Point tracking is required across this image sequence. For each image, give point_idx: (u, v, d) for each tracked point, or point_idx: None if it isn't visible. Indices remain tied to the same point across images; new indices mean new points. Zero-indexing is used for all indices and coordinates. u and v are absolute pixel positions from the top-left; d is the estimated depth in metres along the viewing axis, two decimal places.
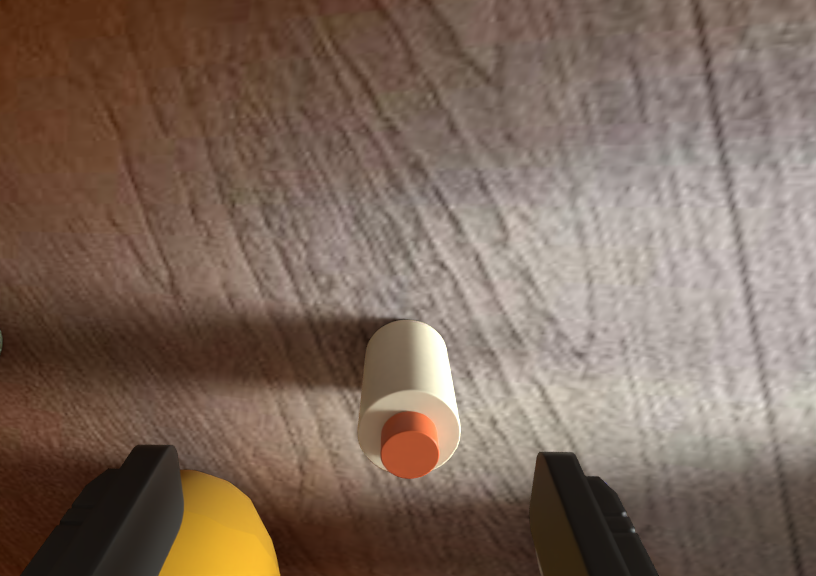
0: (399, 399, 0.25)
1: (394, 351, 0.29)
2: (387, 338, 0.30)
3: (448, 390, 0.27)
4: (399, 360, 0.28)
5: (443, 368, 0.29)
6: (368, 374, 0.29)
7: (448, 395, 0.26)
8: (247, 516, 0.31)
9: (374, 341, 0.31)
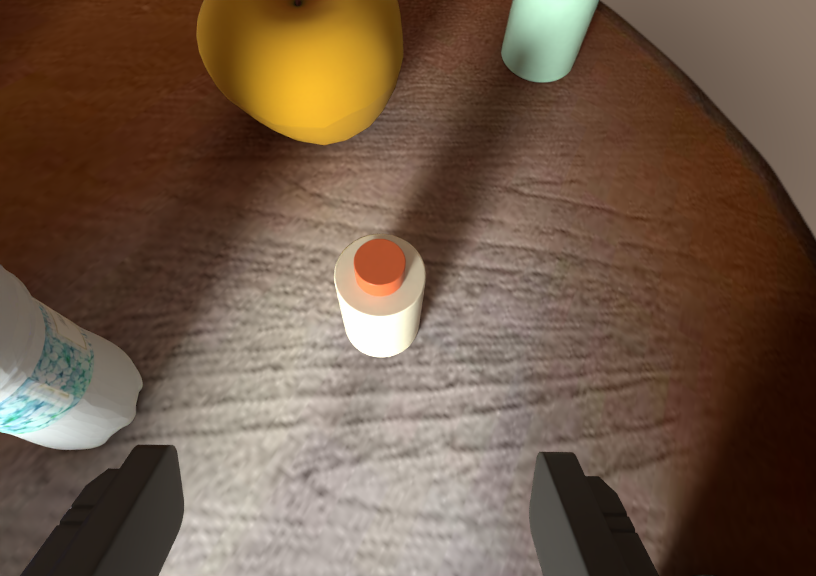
0: (417, 280, 0.29)
1: None
2: None
3: (390, 325, 0.30)
4: None
5: (392, 335, 0.32)
6: None
7: (391, 321, 0.29)
8: (334, 132, 0.36)
9: None
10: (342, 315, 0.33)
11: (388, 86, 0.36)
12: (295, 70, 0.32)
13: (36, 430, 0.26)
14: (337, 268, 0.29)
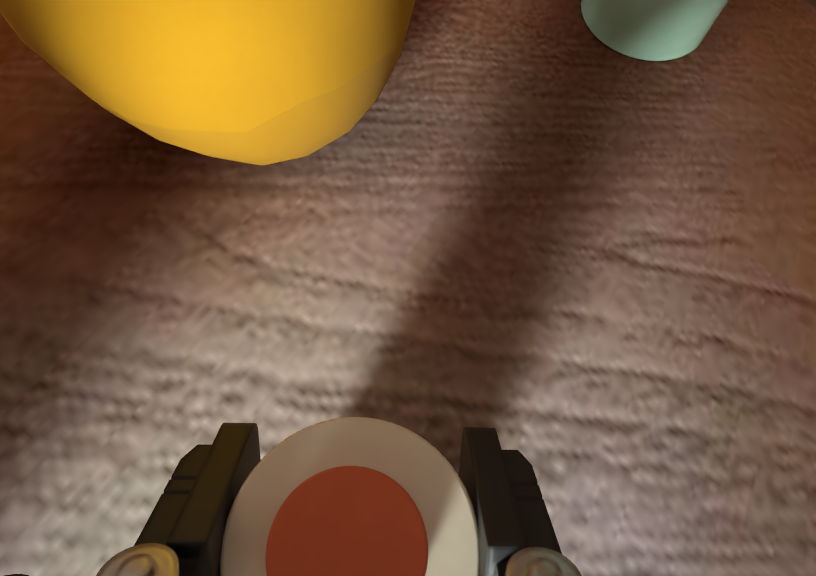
0: (456, 570, 0.10)
1: None
2: None
3: None
4: None
5: None
6: None
7: None
8: (271, 142, 0.17)
9: None
10: None
11: (386, 46, 0.17)
12: None
13: None
14: (231, 529, 0.10)
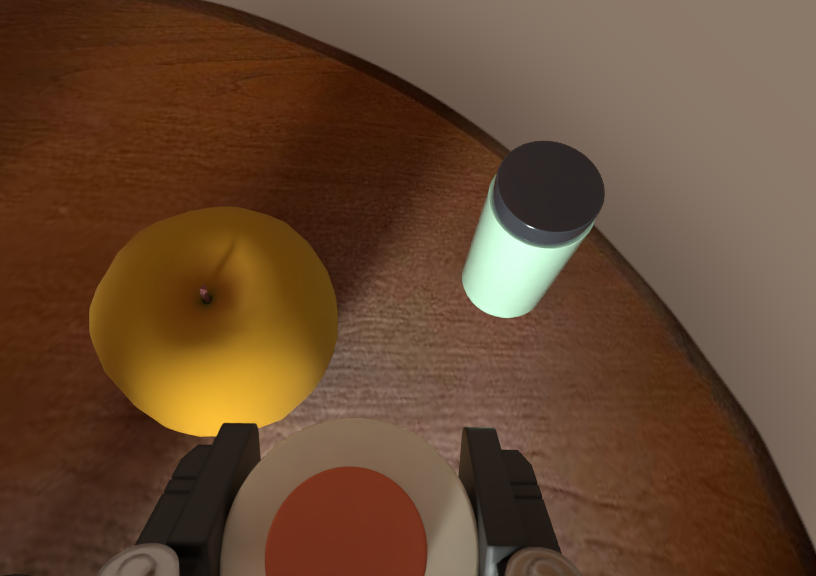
0: (455, 571, 0.10)
1: None
2: None
3: None
4: None
5: None
6: None
7: None
8: None
9: None
10: None
11: (316, 382, 0.30)
12: (194, 404, 0.26)
13: None
14: (230, 530, 0.10)
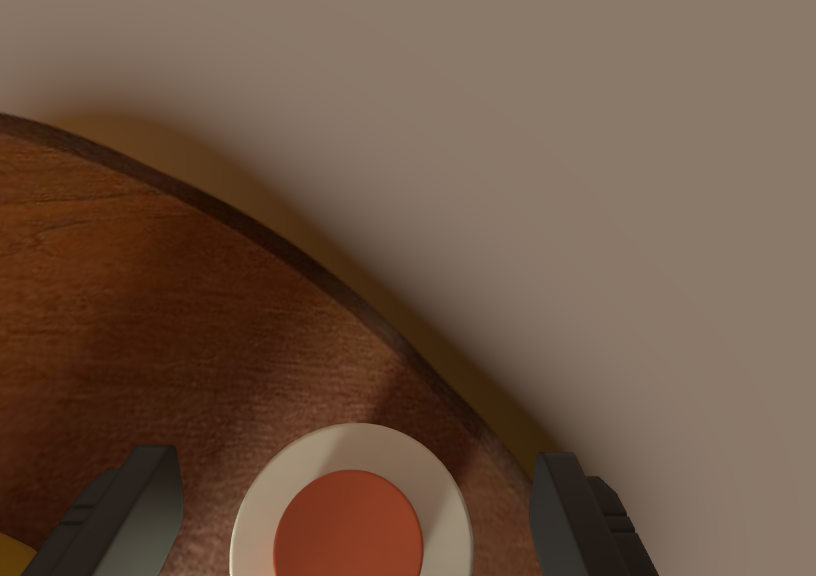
0: (450, 567, 0.11)
1: None
2: None
3: None
4: None
5: None
6: None
7: None
8: None
9: None
10: None
11: None
12: None
13: None
14: (240, 528, 0.11)
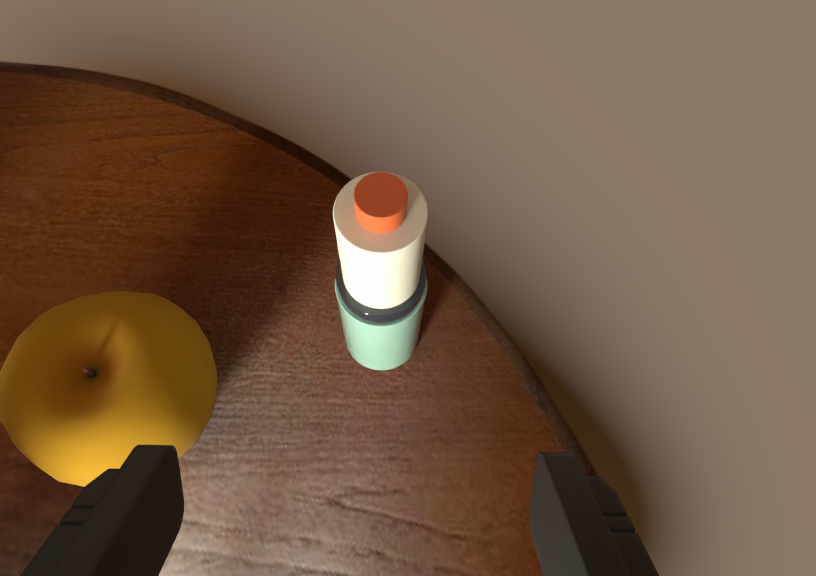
0: (419, 218, 0.28)
1: None
2: None
3: (390, 265, 0.29)
4: (423, 247, 0.31)
5: (392, 280, 0.30)
6: None
7: (392, 260, 0.28)
8: None
9: None
10: (340, 260, 0.31)
11: (190, 439, 0.36)
12: (75, 464, 0.32)
13: None
14: (336, 204, 0.28)
